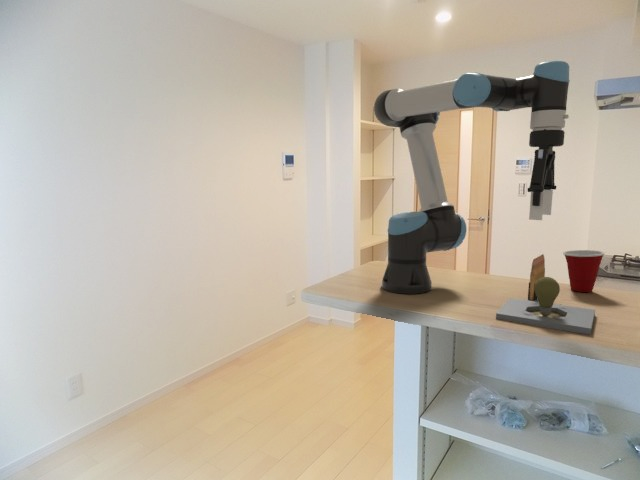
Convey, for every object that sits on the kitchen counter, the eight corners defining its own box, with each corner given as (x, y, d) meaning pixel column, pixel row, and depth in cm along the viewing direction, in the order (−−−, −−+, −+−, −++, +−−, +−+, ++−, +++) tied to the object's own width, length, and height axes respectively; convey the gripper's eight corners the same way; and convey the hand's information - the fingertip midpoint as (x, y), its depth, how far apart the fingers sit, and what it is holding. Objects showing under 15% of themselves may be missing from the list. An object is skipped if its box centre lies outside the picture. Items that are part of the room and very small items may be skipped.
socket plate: (495, 319, 108) (496, 313, 108) (509, 303, 121) (510, 297, 121) (590, 334, 97) (590, 328, 96) (594, 315, 109) (595, 309, 109)
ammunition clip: (534, 301, 122) (537, 259, 121) (527, 300, 124) (529, 258, 122) (544, 293, 130) (547, 253, 129) (538, 292, 132) (540, 253, 130)
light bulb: (551, 312, 111) (553, 274, 110) (562, 319, 106) (565, 279, 104) (528, 312, 111) (531, 274, 110) (539, 319, 106) (541, 280, 104)
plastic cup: (565, 283, 141) (567, 247, 139) (604, 289, 134) (607, 250, 132) (556, 290, 133) (559, 251, 131) (597, 296, 126) (601, 255, 124)
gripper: (557, 125, 93) (549, 223, 97) (570, 132, 113) (563, 213, 117) (519, 127, 97) (513, 221, 101) (539, 133, 118) (533, 212, 121)
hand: (540, 217), depth 109 cm, fingers open, 13 cm apart
